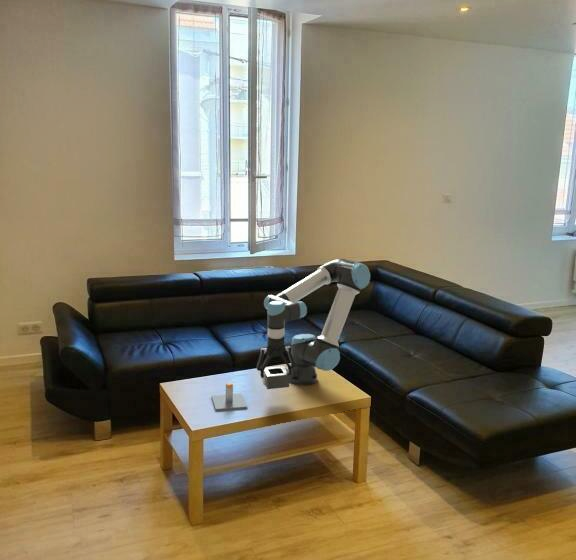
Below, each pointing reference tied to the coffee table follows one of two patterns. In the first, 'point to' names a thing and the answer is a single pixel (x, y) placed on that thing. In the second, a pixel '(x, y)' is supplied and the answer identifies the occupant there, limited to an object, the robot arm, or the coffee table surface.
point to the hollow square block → (276, 377)
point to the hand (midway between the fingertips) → (275, 383)
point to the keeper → (229, 400)
